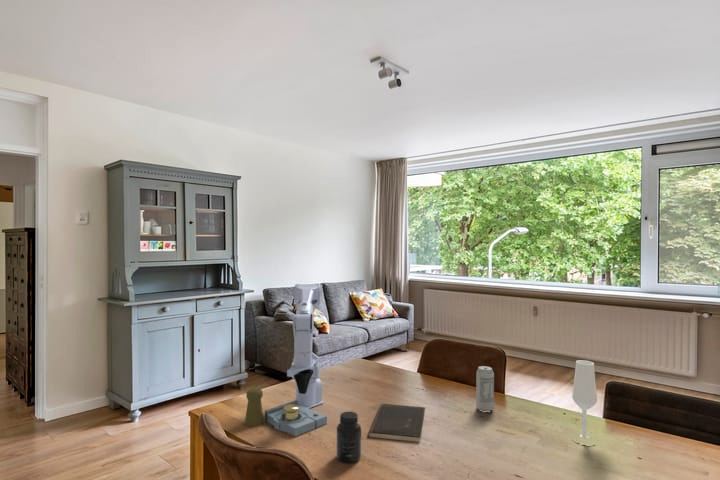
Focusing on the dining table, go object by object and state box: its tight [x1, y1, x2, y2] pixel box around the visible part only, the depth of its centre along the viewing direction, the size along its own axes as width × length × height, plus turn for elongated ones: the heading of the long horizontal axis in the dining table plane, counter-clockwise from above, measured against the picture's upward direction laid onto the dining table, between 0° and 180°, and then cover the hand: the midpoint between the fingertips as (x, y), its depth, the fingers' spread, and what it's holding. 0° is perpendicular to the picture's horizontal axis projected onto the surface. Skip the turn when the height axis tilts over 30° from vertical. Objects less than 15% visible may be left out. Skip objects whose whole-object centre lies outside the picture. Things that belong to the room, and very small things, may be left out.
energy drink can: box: [475, 365, 495, 411], centre depth 154 cm, size 6×6×15 cm
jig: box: [264, 399, 328, 437], centre depth 142 cm, size 14×16×4 cm
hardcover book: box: [367, 403, 426, 443], centre depth 142 cm, size 16×23×2 cm
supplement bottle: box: [336, 411, 362, 464], centre depth 120 cm, size 7×7×12 cm
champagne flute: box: [571, 359, 598, 438], centre depth 131 cm, size 7×7×24 cm
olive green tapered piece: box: [244, 387, 265, 428], centre depth 142 cm, size 6×6×11 cm
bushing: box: [284, 404, 299, 421], centre depth 140 cm, size 5×5×6 cm
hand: (302, 392), depth 140 cm, fingers closed
